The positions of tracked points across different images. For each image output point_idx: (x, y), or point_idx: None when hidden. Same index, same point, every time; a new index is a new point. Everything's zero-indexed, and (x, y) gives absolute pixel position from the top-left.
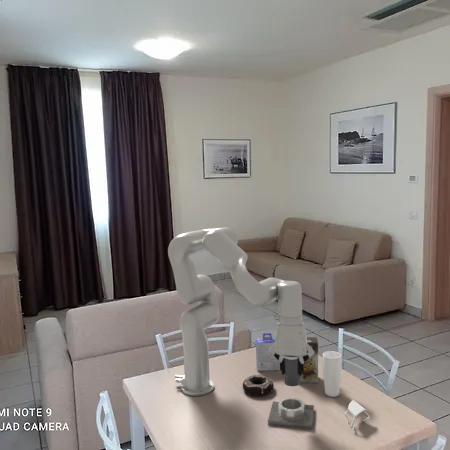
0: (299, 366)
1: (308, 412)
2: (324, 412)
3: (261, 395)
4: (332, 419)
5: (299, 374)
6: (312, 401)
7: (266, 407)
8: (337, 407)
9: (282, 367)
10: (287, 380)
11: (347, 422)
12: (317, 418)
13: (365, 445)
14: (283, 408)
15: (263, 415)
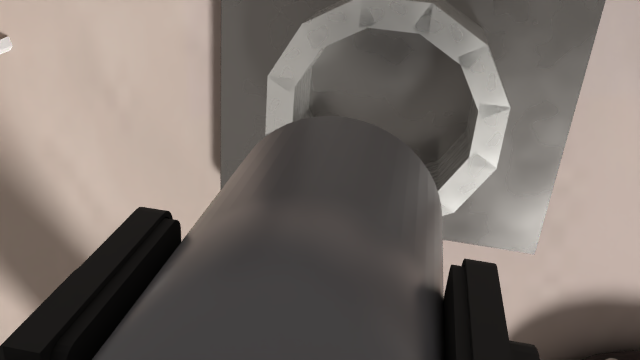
0: (77, 317)
1: (255, 108)
2: (161, 157)
3: (615, 352)
4: (104, 73)
5: (165, 221)
6: None
7: (588, 210)
8: (87, 216)
9: (490, 354)
10: (396, 171)
11: (8, 41)
12: (203, 79)
13: None
14: (463, 38)
15: (630, 95)
